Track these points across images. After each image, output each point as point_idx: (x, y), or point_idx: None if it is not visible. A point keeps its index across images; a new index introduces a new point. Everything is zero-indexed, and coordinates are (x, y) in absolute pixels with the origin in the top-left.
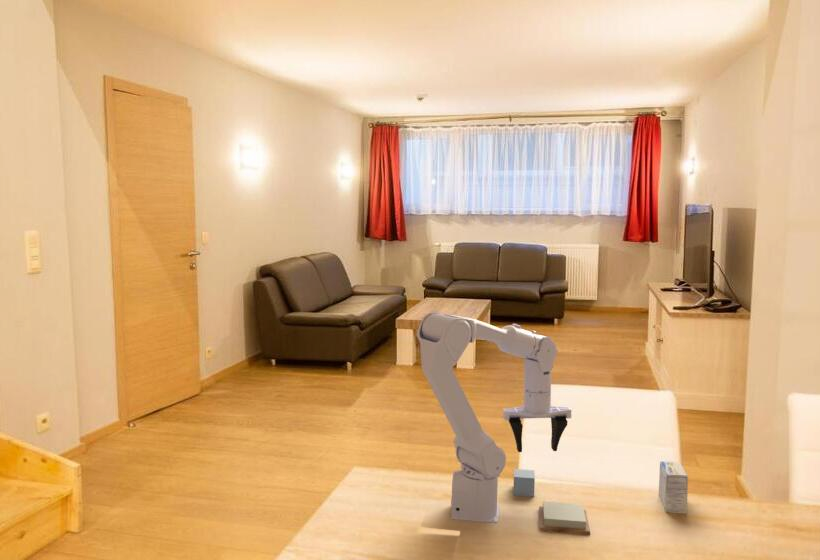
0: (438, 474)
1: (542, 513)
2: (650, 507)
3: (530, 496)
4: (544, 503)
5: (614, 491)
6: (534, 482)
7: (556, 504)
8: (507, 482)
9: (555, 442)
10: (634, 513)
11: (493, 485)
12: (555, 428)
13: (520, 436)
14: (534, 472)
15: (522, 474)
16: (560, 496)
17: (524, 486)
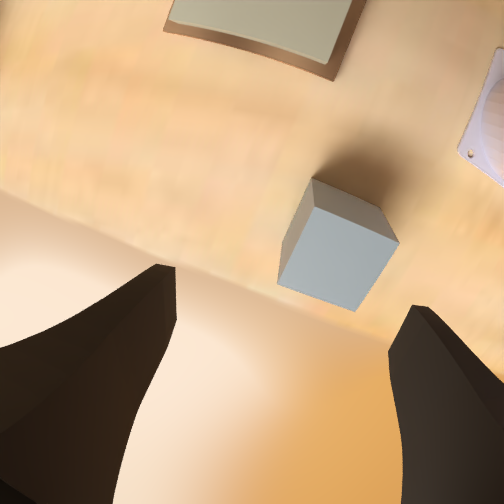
0: None
1: (343, 24)
2: (3, 87)
3: (324, 183)
4: (329, 39)
5: (46, 185)
6: (313, 199)
7: (280, 20)
8: None
9: (136, 298)
10: (40, 44)
11: None
12: (71, 410)
13: (482, 387)
14: (286, 265)
15: (350, 256)
16: (207, 169)
17: (351, 206)
